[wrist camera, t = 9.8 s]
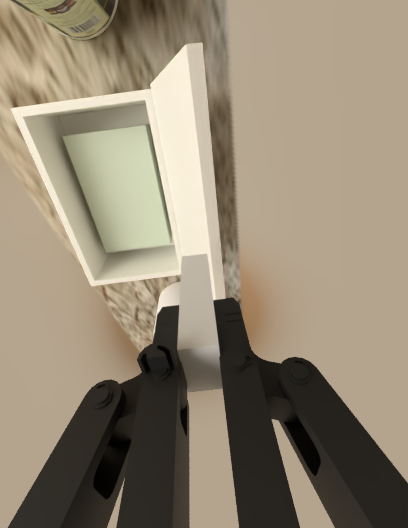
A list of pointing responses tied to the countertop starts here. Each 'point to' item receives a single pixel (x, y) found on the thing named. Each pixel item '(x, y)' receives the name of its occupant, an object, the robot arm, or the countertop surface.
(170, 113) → the lid
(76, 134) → the box
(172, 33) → the countertop surface
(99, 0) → the coffee can
